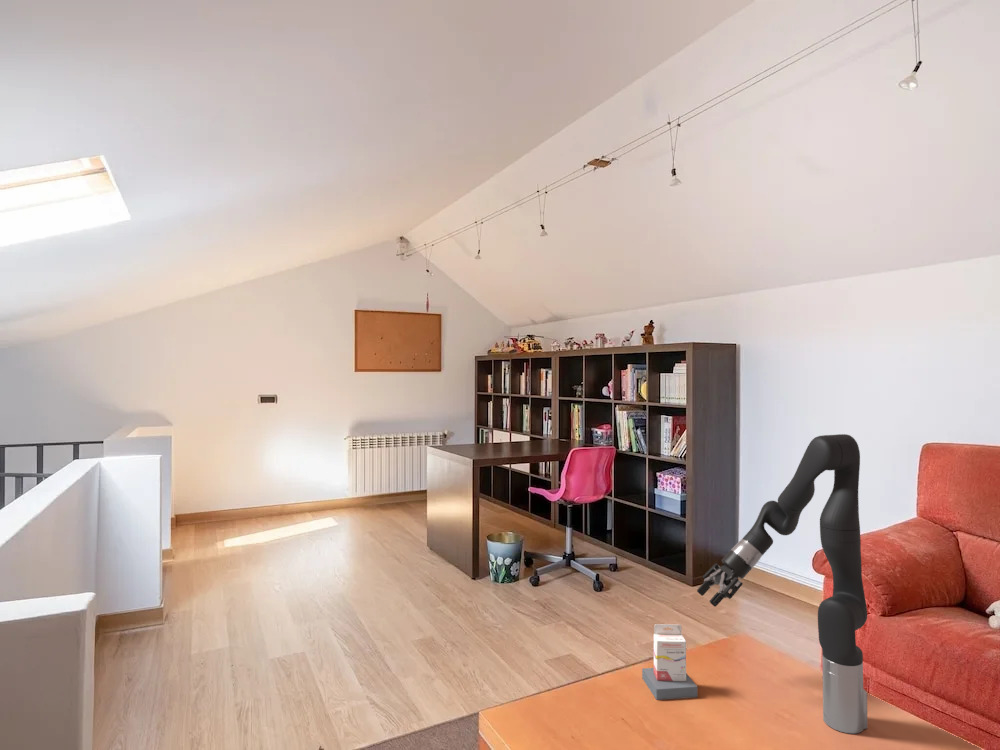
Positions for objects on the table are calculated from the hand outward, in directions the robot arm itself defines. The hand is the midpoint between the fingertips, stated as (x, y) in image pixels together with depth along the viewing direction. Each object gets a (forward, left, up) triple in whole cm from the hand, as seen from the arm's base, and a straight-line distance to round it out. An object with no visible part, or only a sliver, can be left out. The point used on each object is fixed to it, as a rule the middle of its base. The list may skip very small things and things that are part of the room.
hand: (705, 598), depth 178 cm
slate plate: (+12, +1, -25) cm, 28 cm away
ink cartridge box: (+11, +1, -22) cm, 25 cm away
